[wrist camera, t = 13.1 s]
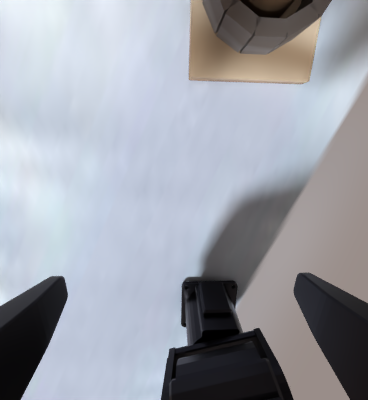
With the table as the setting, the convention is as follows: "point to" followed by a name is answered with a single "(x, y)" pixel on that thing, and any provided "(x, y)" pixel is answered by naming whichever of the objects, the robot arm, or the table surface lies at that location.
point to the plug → (268, 7)
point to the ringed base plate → (253, 42)
